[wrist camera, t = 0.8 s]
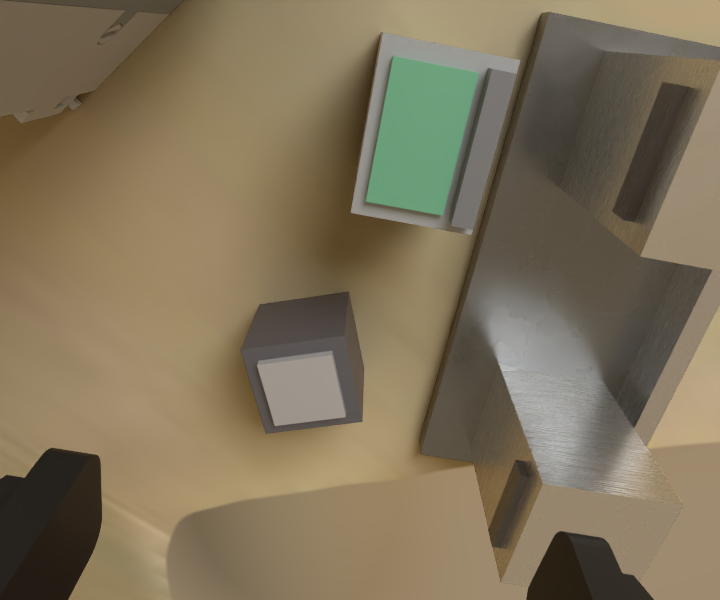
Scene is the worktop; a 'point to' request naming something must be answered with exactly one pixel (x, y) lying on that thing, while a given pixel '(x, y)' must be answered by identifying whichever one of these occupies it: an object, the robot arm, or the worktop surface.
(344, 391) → the block
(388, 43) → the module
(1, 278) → the worktop surface
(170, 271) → the worktop surface
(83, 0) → the circuit breaker
